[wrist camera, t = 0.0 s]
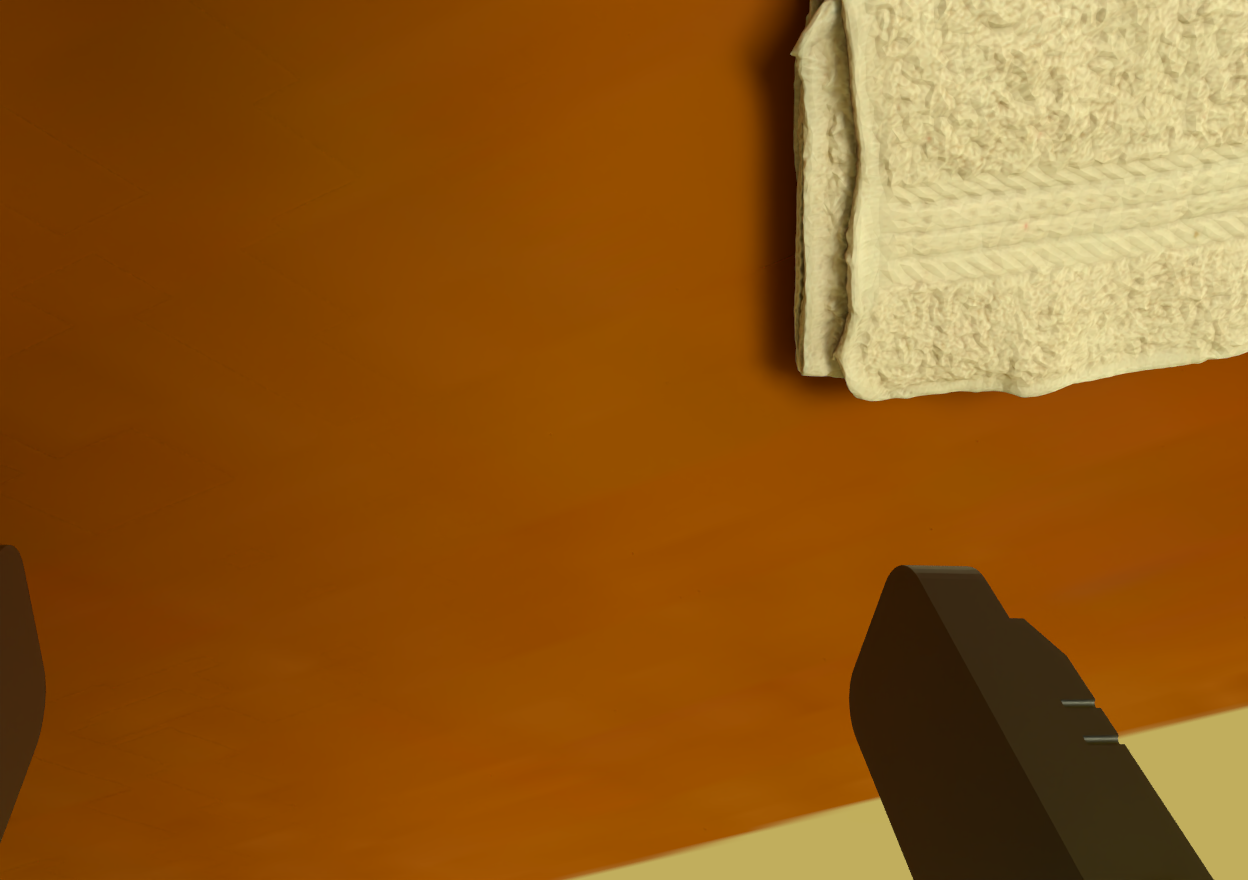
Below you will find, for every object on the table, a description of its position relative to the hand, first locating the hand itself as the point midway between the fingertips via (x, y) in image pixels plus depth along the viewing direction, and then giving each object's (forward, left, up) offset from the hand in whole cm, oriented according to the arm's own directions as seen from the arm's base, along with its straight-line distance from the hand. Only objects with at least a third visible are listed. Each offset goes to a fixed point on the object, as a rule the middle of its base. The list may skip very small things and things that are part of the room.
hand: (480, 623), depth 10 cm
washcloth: (+1, +17, -18) cm, 25 cm away
